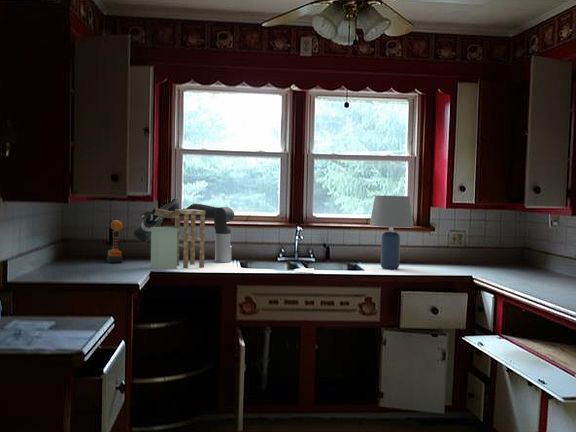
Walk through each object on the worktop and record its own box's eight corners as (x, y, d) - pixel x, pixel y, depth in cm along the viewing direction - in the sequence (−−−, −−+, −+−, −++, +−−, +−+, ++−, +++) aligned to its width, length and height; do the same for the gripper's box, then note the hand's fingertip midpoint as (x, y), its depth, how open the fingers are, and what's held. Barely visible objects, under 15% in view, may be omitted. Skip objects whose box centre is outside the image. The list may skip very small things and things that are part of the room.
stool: (193, 264, 340) (194, 209, 338) (204, 267, 326) (205, 210, 325) (173, 265, 333) (174, 209, 332) (184, 268, 320) (185, 210, 318)
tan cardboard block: (157, 214, 335) (157, 208, 335) (174, 218, 312) (174, 211, 312) (151, 214, 334) (151, 208, 333) (168, 218, 310) (168, 211, 310)
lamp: (416, 272, 330) (419, 196, 328) (372, 271, 328) (375, 195, 326) (405, 266, 355) (407, 196, 353) (364, 265, 354) (366, 195, 352)
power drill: (104, 259, 351) (105, 218, 349) (117, 259, 354) (118, 218, 352) (109, 264, 331) (110, 220, 330) (123, 263, 334) (123, 220, 333)
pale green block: (168, 265, 331) (168, 226, 330) (177, 268, 319) (178, 228, 318) (150, 266, 325) (150, 227, 324) (158, 269, 313) (159, 229, 312)
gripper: (161, 228, 344) (171, 215, 331) (138, 228, 337) (147, 215, 324) (160, 217, 347) (169, 203, 334) (136, 217, 340) (145, 203, 326)
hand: (158, 209), depth 329 cm, fingers closed on tan cardboard block, 3 cm apart
